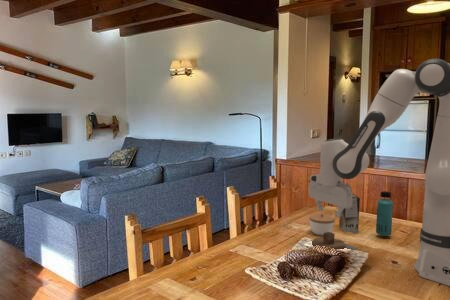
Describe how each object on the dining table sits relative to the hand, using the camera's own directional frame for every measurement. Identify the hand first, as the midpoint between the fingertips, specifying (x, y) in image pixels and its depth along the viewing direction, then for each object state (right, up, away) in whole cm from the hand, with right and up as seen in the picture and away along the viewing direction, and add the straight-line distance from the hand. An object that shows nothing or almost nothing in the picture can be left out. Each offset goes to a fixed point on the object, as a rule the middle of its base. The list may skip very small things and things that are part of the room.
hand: (328, 213), depth 152 cm
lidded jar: (+1, -12, +17) cm, 21 cm away
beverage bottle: (+28, -13, +14) cm, 33 cm away
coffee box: (+15, -12, +23) cm, 30 cm away
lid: (0, -13, +1) cm, 13 cm away
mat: (0, -14, +1) cm, 14 cm away
